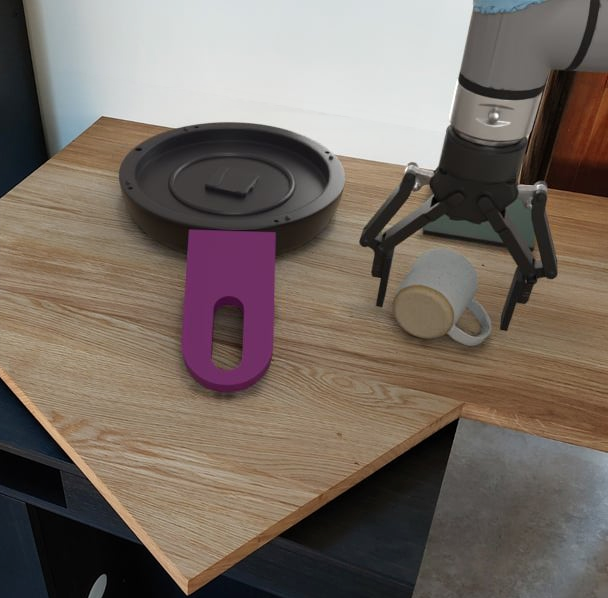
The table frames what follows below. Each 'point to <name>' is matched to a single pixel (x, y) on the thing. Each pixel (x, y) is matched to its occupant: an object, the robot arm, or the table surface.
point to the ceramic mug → (440, 297)
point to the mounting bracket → (229, 303)
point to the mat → (483, 228)
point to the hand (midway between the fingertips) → (441, 311)
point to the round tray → (231, 183)
